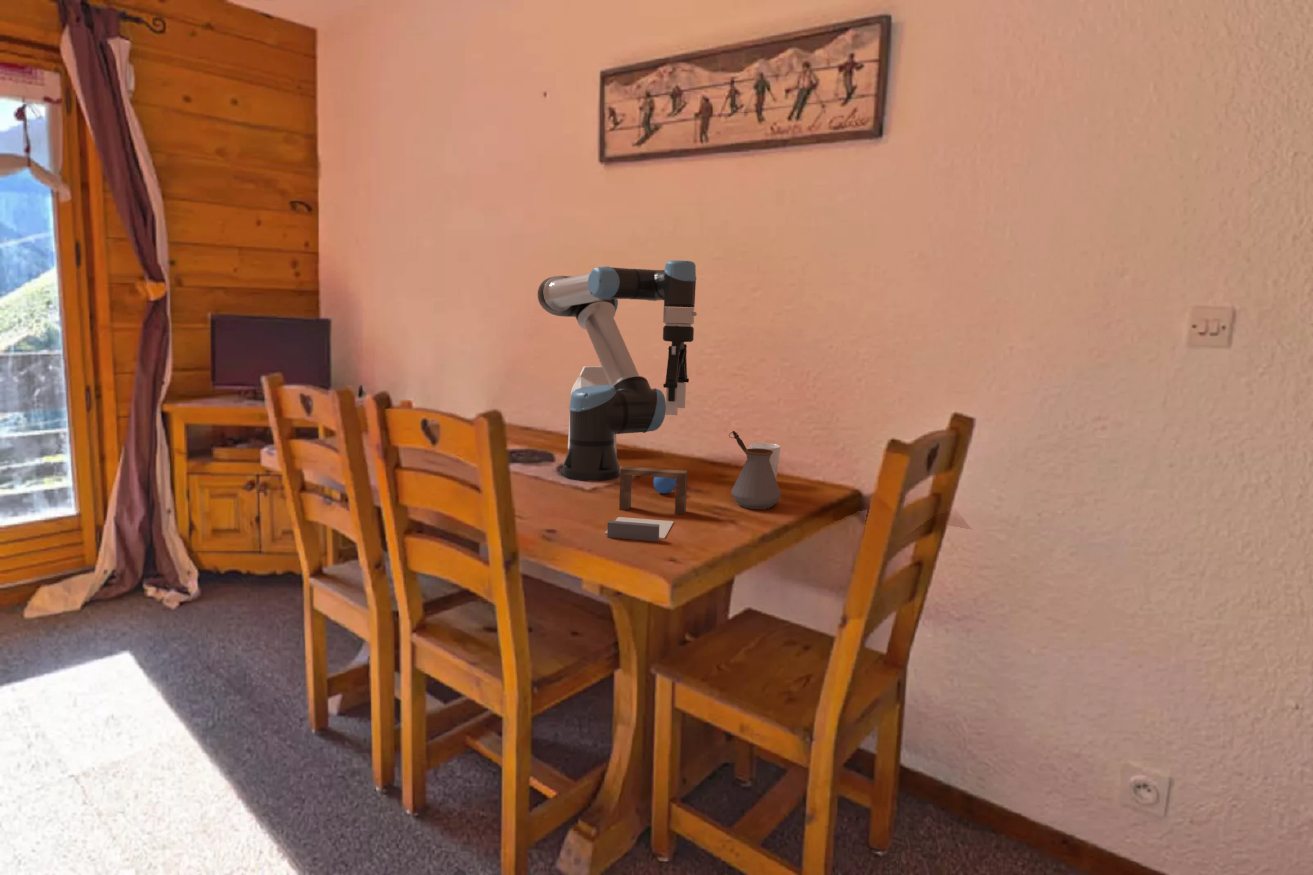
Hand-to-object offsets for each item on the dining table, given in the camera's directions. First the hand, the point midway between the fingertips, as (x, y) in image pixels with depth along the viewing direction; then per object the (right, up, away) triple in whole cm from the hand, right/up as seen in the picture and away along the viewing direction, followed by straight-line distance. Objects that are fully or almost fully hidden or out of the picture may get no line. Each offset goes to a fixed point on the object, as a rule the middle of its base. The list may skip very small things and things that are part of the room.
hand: (675, 411), depth 191 cm
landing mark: (-8, -25, -34) cm, 43 cm away
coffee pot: (+17, -22, -8) cm, 29 cm away
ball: (-3, -17, -6) cm, 18 cm away
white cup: (+23, -19, +10) cm, 31 cm away
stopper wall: (-9, -26, -41) cm, 50 cm away
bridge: (-6, -23, -21) cm, 31 cm away
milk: (-25, -11, +44) cm, 51 cm away
